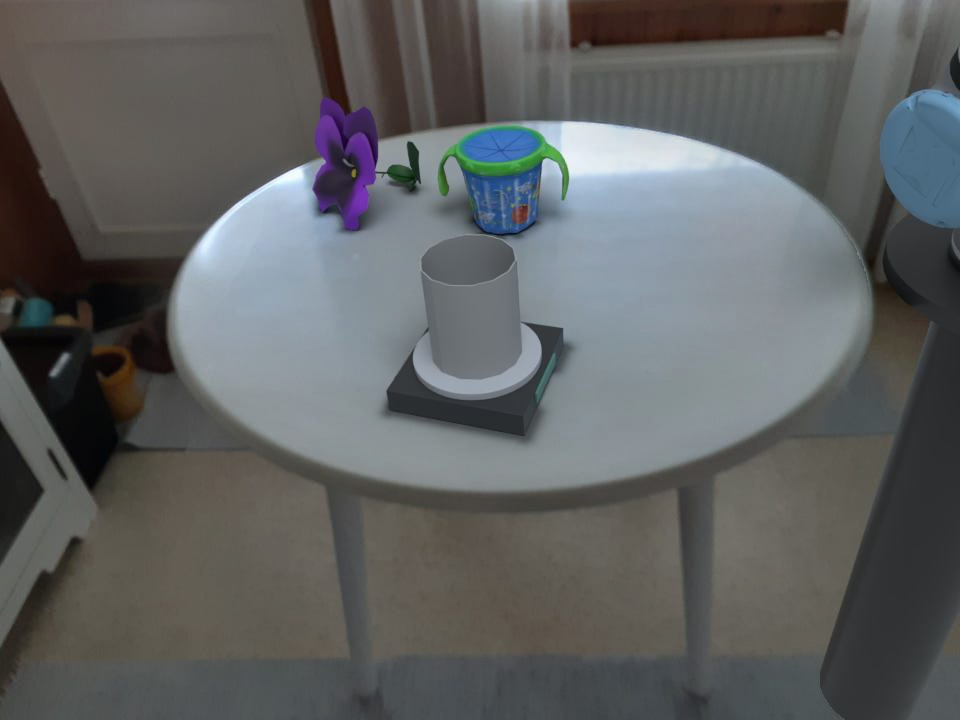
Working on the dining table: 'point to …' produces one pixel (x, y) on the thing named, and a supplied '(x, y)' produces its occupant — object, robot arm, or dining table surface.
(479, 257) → the cup
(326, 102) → the flower
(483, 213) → the snack cup
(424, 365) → the scale
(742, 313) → the dining table surface
